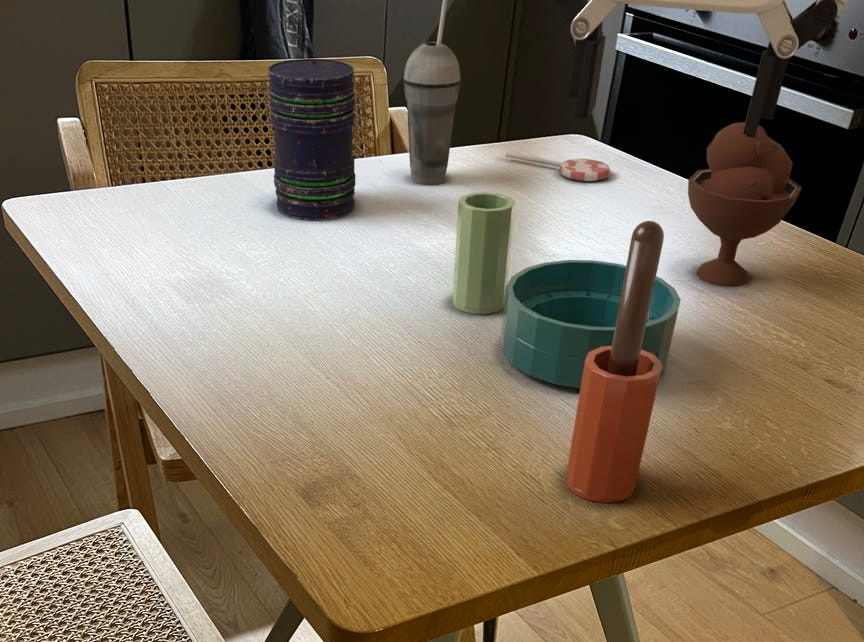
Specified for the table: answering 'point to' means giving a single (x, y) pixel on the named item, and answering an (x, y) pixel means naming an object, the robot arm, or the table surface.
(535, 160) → the lollipop
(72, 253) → the table surface
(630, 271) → the stirring stick
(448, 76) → the beverage cup
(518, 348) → the mixing bowl
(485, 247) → the rinse cup
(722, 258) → the ice cream bowl
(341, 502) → the table surface
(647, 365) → the utensil cup
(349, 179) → the storage jar
